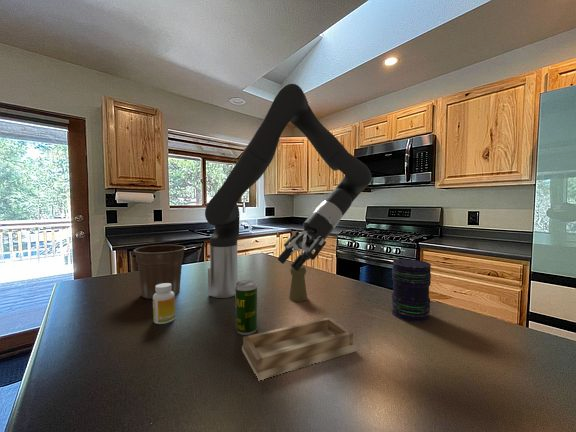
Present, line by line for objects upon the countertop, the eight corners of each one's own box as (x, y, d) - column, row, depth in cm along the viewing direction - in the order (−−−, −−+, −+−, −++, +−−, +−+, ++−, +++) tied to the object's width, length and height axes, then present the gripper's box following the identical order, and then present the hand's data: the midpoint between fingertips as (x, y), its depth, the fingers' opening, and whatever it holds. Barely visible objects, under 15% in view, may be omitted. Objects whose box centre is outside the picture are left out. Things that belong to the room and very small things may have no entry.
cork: (307, 295, 91) (307, 263, 90) (307, 301, 85) (307, 268, 84) (290, 294, 92) (290, 263, 91) (288, 301, 86) (288, 267, 85)
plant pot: (195, 287, 100) (194, 244, 99) (168, 303, 84) (167, 253, 83) (156, 285, 103) (155, 243, 102) (123, 300, 87) (121, 251, 86)
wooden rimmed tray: (259, 381, 47) (258, 362, 47) (242, 350, 57) (241, 334, 57) (355, 351, 57) (356, 335, 57) (327, 329, 67) (327, 315, 67)
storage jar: (428, 311, 77) (430, 260, 77) (431, 325, 69) (432, 268, 68) (392, 305, 82) (393, 257, 81) (390, 318, 73) (391, 264, 72)
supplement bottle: (179, 317, 74) (178, 283, 73) (164, 326, 69) (163, 289, 68) (164, 314, 76) (163, 281, 75) (148, 322, 71) (147, 287, 70)
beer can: (247, 323, 70) (247, 278, 69) (262, 329, 67) (261, 282, 66) (231, 331, 66) (230, 283, 65) (245, 338, 63) (245, 288, 62)
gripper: (302, 210, 80) (267, 251, 75) (329, 212, 67) (289, 261, 63) (317, 227, 82) (284, 267, 78) (346, 232, 70) (308, 280, 65)
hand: (286, 265), depth 70 cm, fingers open, 8 cm apart
